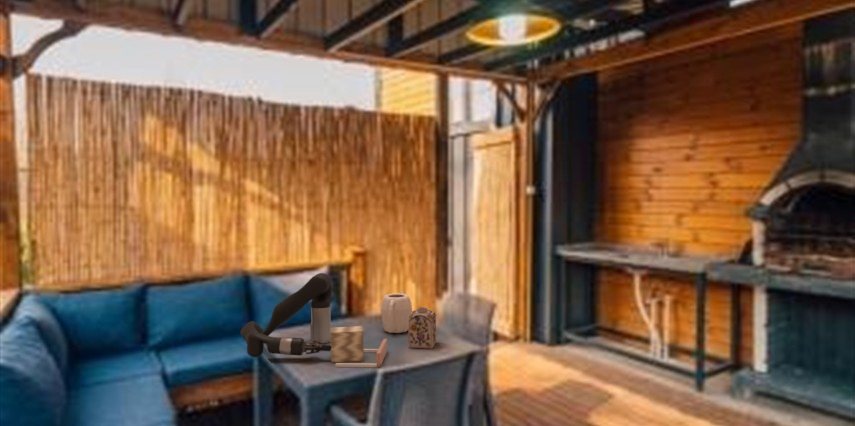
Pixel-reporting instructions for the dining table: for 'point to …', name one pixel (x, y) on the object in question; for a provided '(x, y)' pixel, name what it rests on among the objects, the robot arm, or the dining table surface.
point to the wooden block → (347, 344)
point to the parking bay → (379, 356)
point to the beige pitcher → (396, 312)
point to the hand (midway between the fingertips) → (330, 348)
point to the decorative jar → (422, 328)
